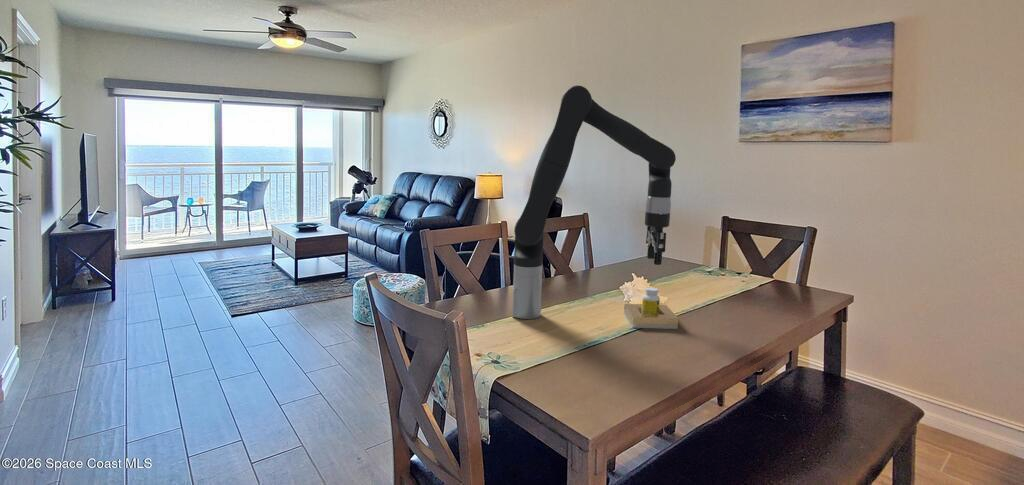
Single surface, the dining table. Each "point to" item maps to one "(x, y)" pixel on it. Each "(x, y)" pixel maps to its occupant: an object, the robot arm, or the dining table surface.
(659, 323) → the block
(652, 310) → the supplement bottle
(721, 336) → the dining table surface
